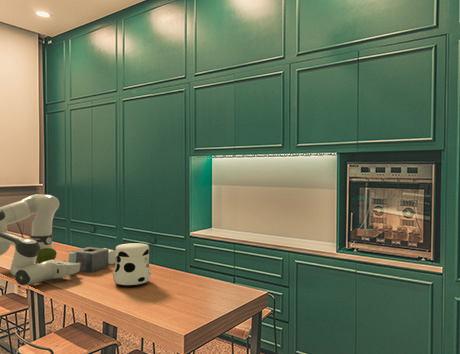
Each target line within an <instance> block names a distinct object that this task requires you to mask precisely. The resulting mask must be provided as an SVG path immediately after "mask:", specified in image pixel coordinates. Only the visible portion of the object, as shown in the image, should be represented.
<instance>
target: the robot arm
mask: <svg viewBox="0 0 460 354" xmlns="http://www.w3.org/2000/svg"><path fill="white" fill-rule="evenodd" d="M59 208H60V200H59V199H58V197H56V196H54V195H51V194H40V193H35V194H32V195H29V196H27V197H26V198H23V199H21V200H18V201H15V202H12V203H9V204H6V205H2V206H0V256H2V255H4V254H6V253H7V252H8V250H9V249H10V248H11V246H14V254H13V258H12V261H11V264H10V269H9V273H10V274H11V275H12V277H13V278H14V279H15V282H16V283H17V284H18V285H20V286H32V285H35V284H39V283H41V282H43V281H49V280H53V279H64V278H66V277H67V276H72V275H71V274H74V273H76V274H77V273H78V272H80V271H79V270H80V264H81V263H79V262H77V263H70V262H69V261H67V260H55V259H54V260H48V261H44V262H41V263H40V264H39V263H37V255H38V253H39V250H40V249H44V248H52V249H54V243H53V239H54V238H53V237H54V236H53V233H52V232H53V219H54V216H55V213H56V211H57V210H59ZM32 215H35V217H34V219H33V221H32V222H31V235H29V236H28V237H27V238H26V237H24V236H21V235H19V234H15V233H13V232H9V231H8V225H9V226H10V225H12V224H15V223H17V222H21V221H24V220H27V219H28V218H29V217H30V216H32Z"/></svg>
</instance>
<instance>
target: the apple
mask: <svg viewBox="0 0 460 354" xmlns="http://www.w3.org/2000/svg"><path fill="white" fill-rule="evenodd" d="M57 254H58V253H57V250H55V249H54V248H53V249H52V248H44V249H40V250H39V253H38V255H37V260H36V262H38V263H37V264H40V263H41V262H44V261H48V260H55V259H56V257H57Z"/></svg>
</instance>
